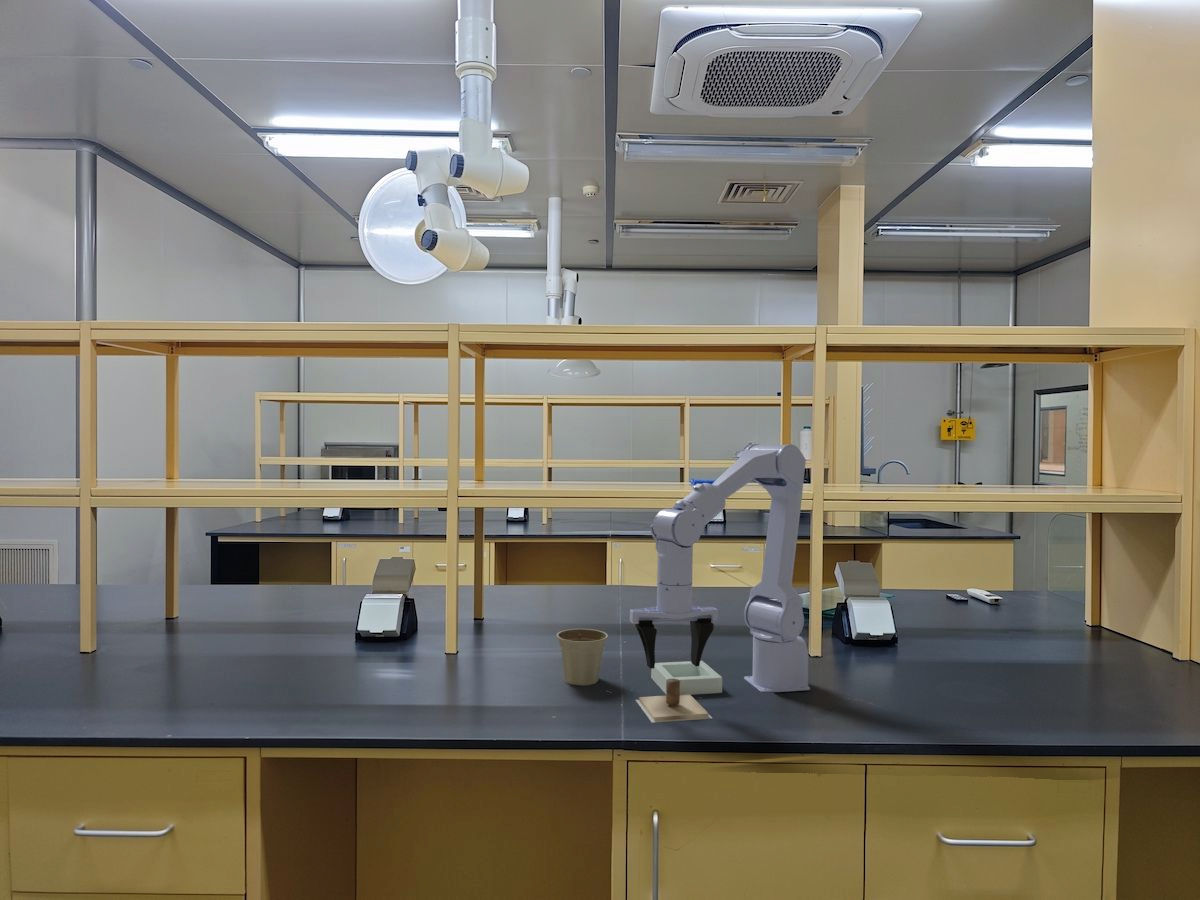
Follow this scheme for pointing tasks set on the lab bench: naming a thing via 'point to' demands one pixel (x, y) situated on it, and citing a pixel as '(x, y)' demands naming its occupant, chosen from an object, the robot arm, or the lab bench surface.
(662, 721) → the mat
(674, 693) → the lid
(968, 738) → the lab bench surface
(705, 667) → the dish
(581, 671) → the flower pot
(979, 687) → the lab bench surface
